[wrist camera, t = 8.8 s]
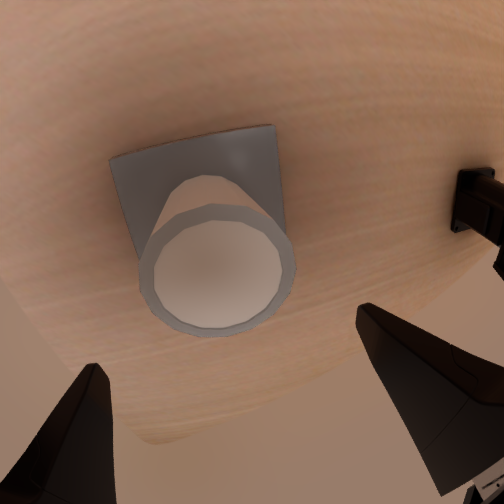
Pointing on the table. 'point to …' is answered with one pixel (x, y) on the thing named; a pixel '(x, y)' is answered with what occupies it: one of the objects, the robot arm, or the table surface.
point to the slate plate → (197, 174)
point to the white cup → (215, 260)
